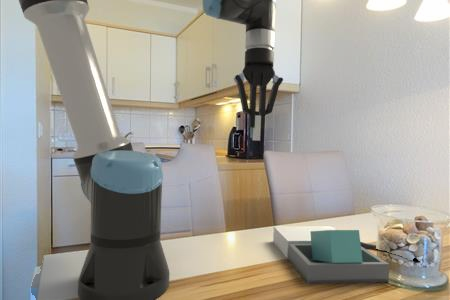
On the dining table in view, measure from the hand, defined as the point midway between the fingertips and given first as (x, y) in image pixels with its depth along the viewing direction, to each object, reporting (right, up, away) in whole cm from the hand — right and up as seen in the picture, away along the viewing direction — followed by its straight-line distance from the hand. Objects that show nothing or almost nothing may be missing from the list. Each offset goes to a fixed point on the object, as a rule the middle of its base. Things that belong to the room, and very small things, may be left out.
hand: (256, 140), depth 84 cm
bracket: (+30, -28, -4) cm, 41 cm away
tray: (+14, -27, -18) cm, 36 cm away
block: (+14, -24, -13) cm, 30 cm away
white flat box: (+13, -27, -6) cm, 30 cm away
